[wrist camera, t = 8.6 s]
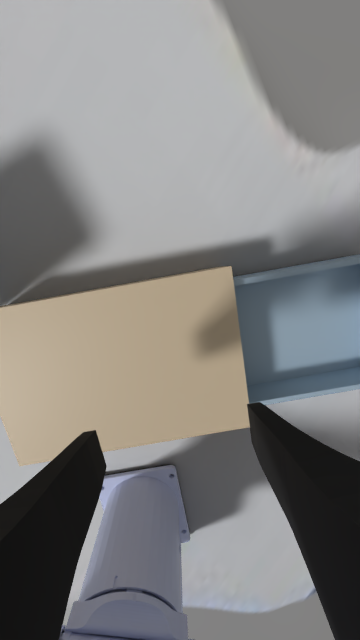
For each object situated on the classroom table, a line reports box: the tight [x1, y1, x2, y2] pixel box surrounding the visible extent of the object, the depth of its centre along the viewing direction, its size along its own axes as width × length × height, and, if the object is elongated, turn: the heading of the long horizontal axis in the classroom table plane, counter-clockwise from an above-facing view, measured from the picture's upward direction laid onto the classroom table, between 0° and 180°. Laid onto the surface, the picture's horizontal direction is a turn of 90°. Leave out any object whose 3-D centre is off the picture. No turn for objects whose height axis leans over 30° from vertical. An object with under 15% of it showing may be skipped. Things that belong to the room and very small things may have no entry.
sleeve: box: [0, 266, 250, 466], centre depth 19 cm, size 12×18×4 cm, turn 100°
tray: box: [233, 254, 360, 405], centre depth 19 cm, size 10×17×3 cm, turn 100°
